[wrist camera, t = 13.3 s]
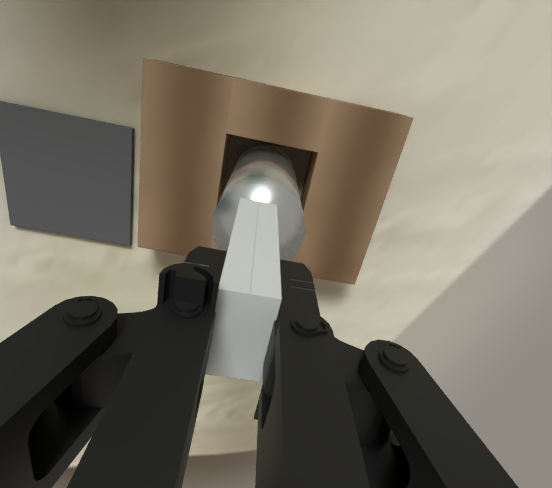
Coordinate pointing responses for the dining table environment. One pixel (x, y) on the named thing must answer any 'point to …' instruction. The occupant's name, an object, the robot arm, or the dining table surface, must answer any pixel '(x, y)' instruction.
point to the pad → (67, 173)
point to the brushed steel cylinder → (263, 197)
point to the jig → (270, 128)
